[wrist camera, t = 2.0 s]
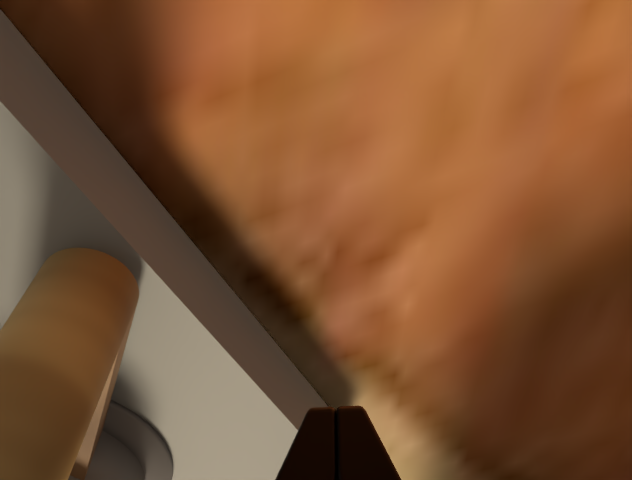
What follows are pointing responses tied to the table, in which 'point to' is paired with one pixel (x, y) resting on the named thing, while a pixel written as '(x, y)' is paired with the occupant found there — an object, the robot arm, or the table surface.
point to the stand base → (141, 291)
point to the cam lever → (66, 371)
